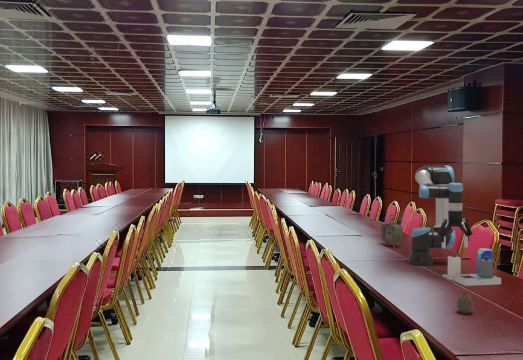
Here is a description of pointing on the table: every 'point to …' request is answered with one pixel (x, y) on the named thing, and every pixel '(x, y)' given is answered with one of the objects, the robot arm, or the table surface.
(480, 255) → the beer can
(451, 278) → the tray
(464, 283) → the metal socket frame
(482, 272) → the twin plug
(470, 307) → the grey rounded lump
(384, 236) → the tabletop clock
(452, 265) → the plug
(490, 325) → the table surface
